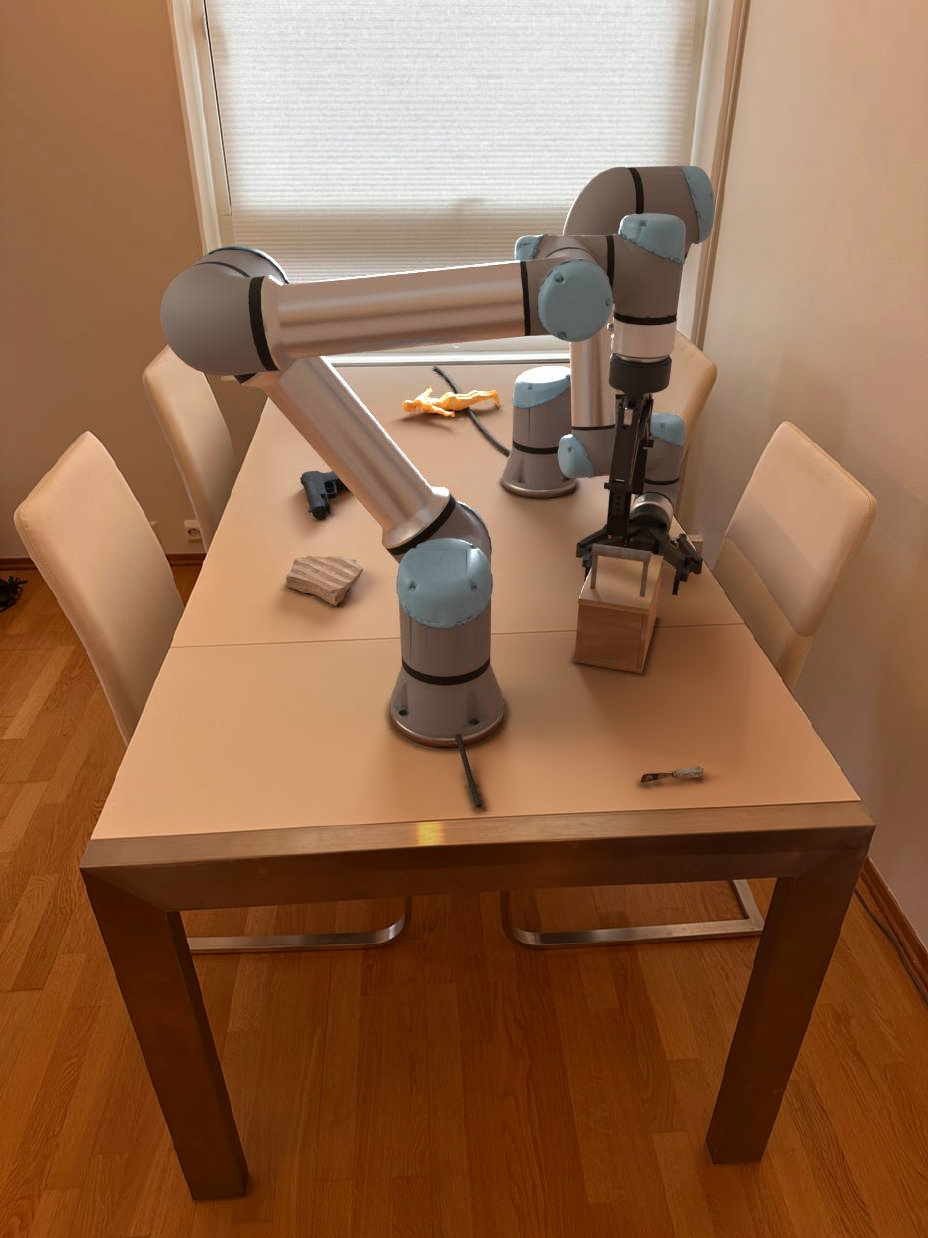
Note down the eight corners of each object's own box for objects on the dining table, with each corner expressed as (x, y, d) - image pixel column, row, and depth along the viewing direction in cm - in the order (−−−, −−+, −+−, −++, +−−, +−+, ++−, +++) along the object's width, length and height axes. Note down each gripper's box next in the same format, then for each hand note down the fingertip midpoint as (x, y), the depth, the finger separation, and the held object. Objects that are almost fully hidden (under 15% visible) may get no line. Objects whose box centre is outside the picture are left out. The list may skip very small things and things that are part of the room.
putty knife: (703, 777, 109) (705, 767, 109) (642, 788, 108) (644, 777, 107) (700, 772, 110) (702, 762, 109) (639, 782, 109) (640, 771, 108)
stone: (372, 573, 153) (371, 560, 152) (338, 607, 144) (336, 593, 143) (307, 560, 158) (306, 548, 156) (270, 592, 148) (268, 579, 147)
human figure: (395, 413, 223) (394, 398, 221) (438, 390, 237) (438, 375, 235) (462, 429, 215) (462, 413, 213) (502, 404, 229) (503, 388, 227)
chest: (641, 673, 128) (649, 612, 123) (574, 662, 131) (578, 601, 126) (655, 619, 141) (663, 561, 135) (594, 609, 144) (599, 552, 138)
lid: (648, 614, 122) (654, 565, 118) (577, 603, 125) (581, 554, 121) (663, 561, 135) (669, 514, 131) (599, 552, 138) (602, 506, 134)
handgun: (371, 513, 174) (309, 521, 172) (356, 478, 189) (299, 484, 186) (370, 498, 173) (308, 506, 170) (355, 464, 187) (297, 470, 184)
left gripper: (626, 326, 119) (613, 474, 131) (591, 380, 99) (578, 550, 111) (683, 330, 117) (665, 480, 129) (659, 387, 97) (639, 558, 109)
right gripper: (719, 551, 153) (710, 613, 136) (576, 533, 160) (550, 590, 143) (726, 512, 149) (717, 570, 132) (579, 494, 156) (552, 548, 139)
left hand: (625, 513), depth 120 cm, fingers open, 13 cm apart
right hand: (630, 581), depth 137 cm, fingers open, 13 cm apart
